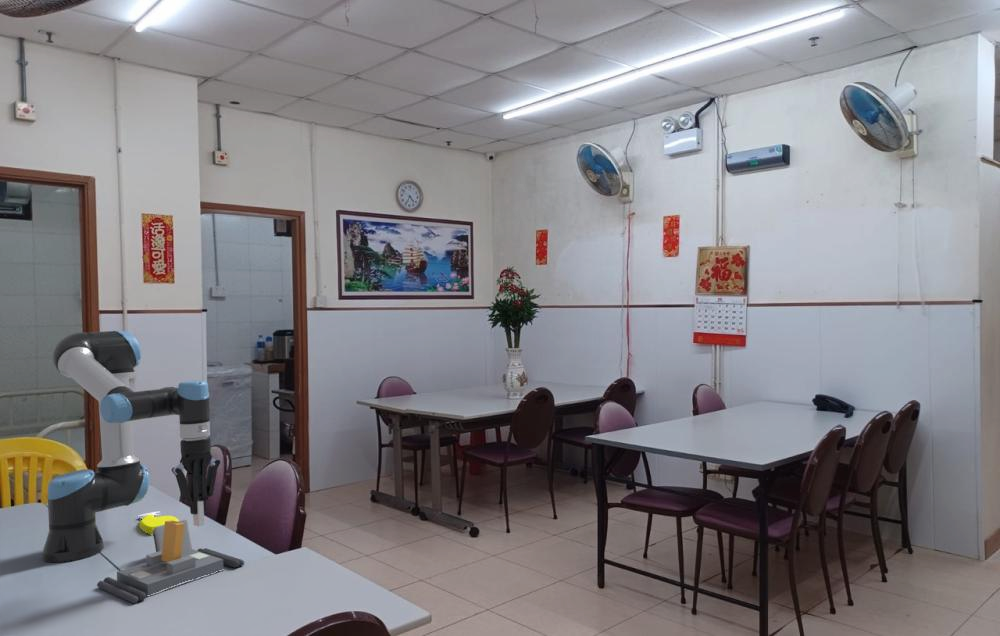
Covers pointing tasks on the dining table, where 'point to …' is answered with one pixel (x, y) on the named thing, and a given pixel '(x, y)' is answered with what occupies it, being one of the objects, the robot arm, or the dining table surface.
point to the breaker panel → (166, 577)
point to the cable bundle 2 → (224, 558)
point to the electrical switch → (159, 535)
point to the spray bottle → (153, 521)
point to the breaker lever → (172, 541)
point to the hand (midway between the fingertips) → (199, 524)
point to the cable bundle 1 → (121, 590)
